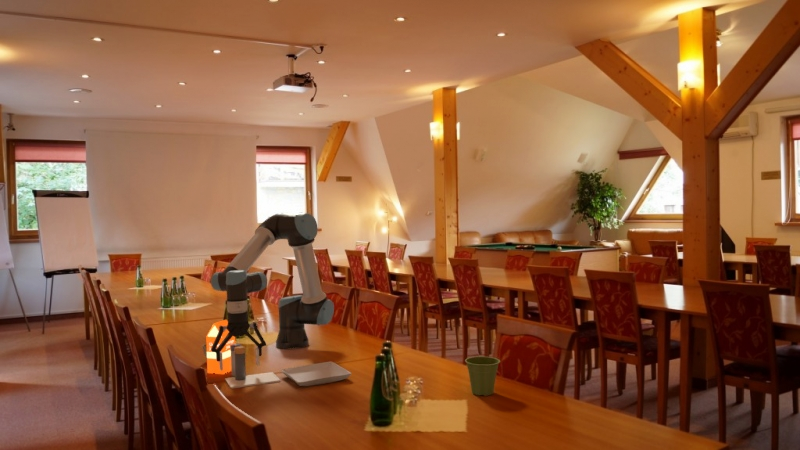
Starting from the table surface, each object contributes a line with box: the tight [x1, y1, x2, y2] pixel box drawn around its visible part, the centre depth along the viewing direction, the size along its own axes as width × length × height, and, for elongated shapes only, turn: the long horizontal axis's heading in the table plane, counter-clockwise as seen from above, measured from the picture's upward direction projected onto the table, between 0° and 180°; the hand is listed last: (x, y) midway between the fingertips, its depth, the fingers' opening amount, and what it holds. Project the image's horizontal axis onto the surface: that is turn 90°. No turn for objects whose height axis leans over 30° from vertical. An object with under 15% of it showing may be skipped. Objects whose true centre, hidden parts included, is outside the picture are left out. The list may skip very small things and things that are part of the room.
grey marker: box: [230, 343, 242, 377], centre depth 243 cm, size 4×4×12 cm
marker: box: [234, 345, 247, 381], centre depth 235 cm, size 4×4×12 cm
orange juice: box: [205, 319, 236, 375], centre depth 251 cm, size 8×9×20 cm
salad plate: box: [280, 361, 352, 387], centre depth 236 cm, size 21×21×3 cm
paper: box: [224, 371, 281, 390], centre depth 235 cm, size 18×13×1 cm
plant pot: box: [464, 355, 501, 397], centre depth 213 cm, size 12×12×11 cm
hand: (239, 367), depth 237 cm, fingers open, 13 cm apart
